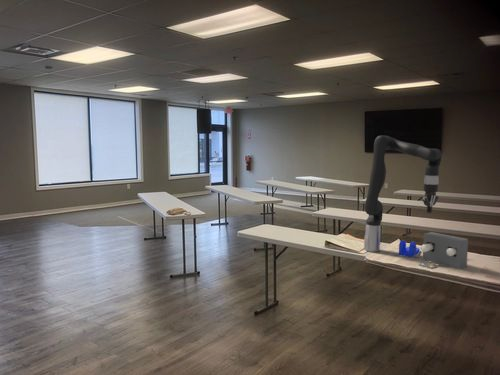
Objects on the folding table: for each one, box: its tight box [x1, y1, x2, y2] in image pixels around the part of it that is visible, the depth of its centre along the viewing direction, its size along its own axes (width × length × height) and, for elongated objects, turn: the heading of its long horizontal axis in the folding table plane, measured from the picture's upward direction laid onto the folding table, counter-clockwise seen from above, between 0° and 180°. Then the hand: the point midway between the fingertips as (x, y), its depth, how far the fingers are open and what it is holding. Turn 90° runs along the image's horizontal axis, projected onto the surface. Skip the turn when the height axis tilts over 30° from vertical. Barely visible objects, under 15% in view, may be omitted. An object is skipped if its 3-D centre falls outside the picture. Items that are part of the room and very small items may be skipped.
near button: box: [446, 248, 457, 256], centre depth 221 cm, size 8×4×4 cm, turn 124°
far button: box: [420, 243, 435, 253], centre depth 230 cm, size 8×4×4 cm, turn 124°
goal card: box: [418, 262, 438, 270], centre depth 223 cm, size 6×8×1 cm
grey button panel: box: [422, 231, 469, 270], centre depth 228 cm, size 8×22×16 cm, turn 34°
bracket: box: [398, 239, 421, 258], centre depth 250 cm, size 18×8×9 cm, turn 140°
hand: (429, 212), depth 228 cm, fingers closed
